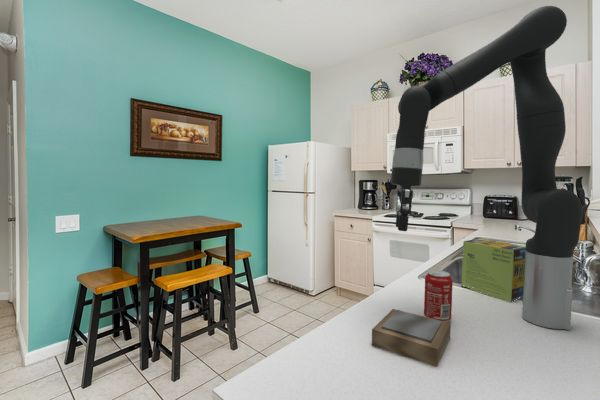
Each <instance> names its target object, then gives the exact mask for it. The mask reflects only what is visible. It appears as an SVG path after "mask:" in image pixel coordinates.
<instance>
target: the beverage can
mask: <svg viewBox="0 0 600 400" xmlns="http://www.w3.org/2000/svg"><path fill="white" fill-rule="evenodd" d="M423 299H424V301H423V303H424V304H423V314H424V315H423V316H424V317H428V318H432V319H436V320H440V321H444V322H448V323H449V321H450V320H451V319H452V308H453V307H452V305H453V303H452V302H453V279H452V277H451V273H449V272H447V271H445V270H440V269H430V270H428V272H427V274H426V275H425V276H424V298H423Z"/></svg>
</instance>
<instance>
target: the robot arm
mask: <svg viewBox="0 0 600 400" xmlns="http://www.w3.org/2000/svg"><path fill="white" fill-rule="evenodd" d="M567 22H568V20H567V15H566V13H565V12H564V11H563V10H562V9H561V8H560V7H558V6H554V5H544V6H541V7H537V8H535V9H533V10H531V11H530V12H529V13H527V14H526V15H524V17H522V19H520V20H519V21H518V22H517V23H516V24H515V25H514V26H513V27H511V28H510V29H508V30H507V31H506V32H504V33H503V34H501V35H500V36H499V37H497V38H495V39H494V40H492V41H491V42H489V43H488V44H486V45H484V46H482V47H481V48H480V49H478V50H476V51H474V52H472V53H471V54H469V55H467V56H465V57H464V58H462V59H459V60H458V61H456V62H455V63H453V64H451V65H449V66H448V67H447V68H444V69H443V70H442V71H441V70H440V72H438V73H437V74H435V75H434V76H433V77H432V78H431V79H430V80H429V81H428V82H427V83H425V84H423V85H413V86H410V87H408V88H407V89H406V90H405V91H403V93H402V95H401V96H400V100H399V101H398V106H397V109H398V113H399V121H398V122H399V124H398V129H397V131H396V136H395V137H396V138H395V144H394V145H395V146H394V153H393V157H392V163H391V164H392V165H391V175H390V184H391V185H392V186H393V185H394V186H399V189H397V191H396V193H395V213H396V219H395V227H396V228H397V230H398V231H399V232H407V231H408V227H409V226H408V225H409V219H410V218H409V217H410V216H411V213H412V208H413V207H412V206H413V198H414V190H413V189H412V187H420V186H421V185H422V178H423V170H424V169H423V167H424V147H425V139H426V138H425V136H426V135H425V134H426V133H425V132H426V127H427V123H428V118H429V115H430V114H429V113H430V111H432V110H433V109H435V108H436V107H438V106H439V105H441V104H442V103H443V102H445V101H448V100H450V99H452V98H453V97H455V96H457V95H458V94H460V93H462V92H464V91H466V90H468V89H469V88H471V87H473V86H474V85H475V84H477V83H479V82H480V81H482V80H483V79H484V78H486V77H488V76H489V75H490V74H492V73H493V72H495V71H497V70H498V69H499V68H501V67H502V66H503V67H504V65H506V64H507V63H509V64H510V69H511V74H512V79H513V86H514V98H515V110H516V123H517V134H518V140H519V141H518V143H519V151H520V152H519V153H520V162H521V163H520V164H521V173H522V174H521V177H522V178H521V209H522V212H523V214H524V216H525V217H526V218H527V220H529V221H531V222H532V223H535V231H534V235H533V236H532V237H531V238H529V239H527V240H525V241H526V242H525V246H526V248H525V269H524V287H523V298H522V307H521V310H522V311H521V316H522V317H521V318H522V319H524V320H525V321H527V322H528V323H531V324H533V325H535V326H538V327H542V328H548V329H552V330H553V329H555V330H567V331H570V330H571V324H572V322H571V321H572V306H573V305H572V304H573V289H572V282H573V281H572V280H573V279H572V278H573V264H574V252H575V248H576V247H577V246H578V244H579V240H580V236H581V235H580V233H581V228H582V219H583V208H582V207H583V206H582V202H581V200H580V198H579V196H578V195H577V194H576V193H574V192H573V191H571V190H569V189H564V188H557V180H556V164H557V160H558V157H559V154H560V151H561V148H562V146H563V143H564V140H565V136H566V126H567V125H566V115H565V106H564V102H563V99H562V98H561V96H560V94H559V93H558V90H557V89H555V86H554V85H553V84H552V82H551V81H550V78H549V76H548V72H547V66H546V65H547V64H546V63H547V62H546V51H547V49H548V48H550V47H551V46H552V45H554V44H555V43H556V42H557V41H558V40H559V39H560V38H561V37H562V35H563V34H564V32H565V30H566V28H567Z"/></svg>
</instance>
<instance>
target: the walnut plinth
mask: <svg viewBox="0 0 600 400" xmlns="http://www.w3.org/2000/svg"><path fill="white" fill-rule="evenodd" d="M451 327H452V325H451V322H449V321H448V322H444V321H440V320H436V319H432V318H428V317H426V316H425V315H419V314H415V313H411V312H408V311H404V310H399V309H395V308H392V309H391V310H390V311H389V312H388V313H387V314H386V315H385V316H384V317H383V318H382V319H380V320H379V321H378V322H377V324H375V326H374V327H372V329H371V346H374V347H376V348H380V349H382V350H386V351H388V352H391V353H393V354H397V355H400V356H403V357H405V358H409V359H412V360H415V361H418V362H422V363H424V364H427V365H430V366H433V367H436V368H437V367H438V366H439V363H440V361H441V359H442V356H443V355H444V353H445V350H446V348H447V347H448V344H449V343H450V342H449V341H450V340H451Z"/></svg>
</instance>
